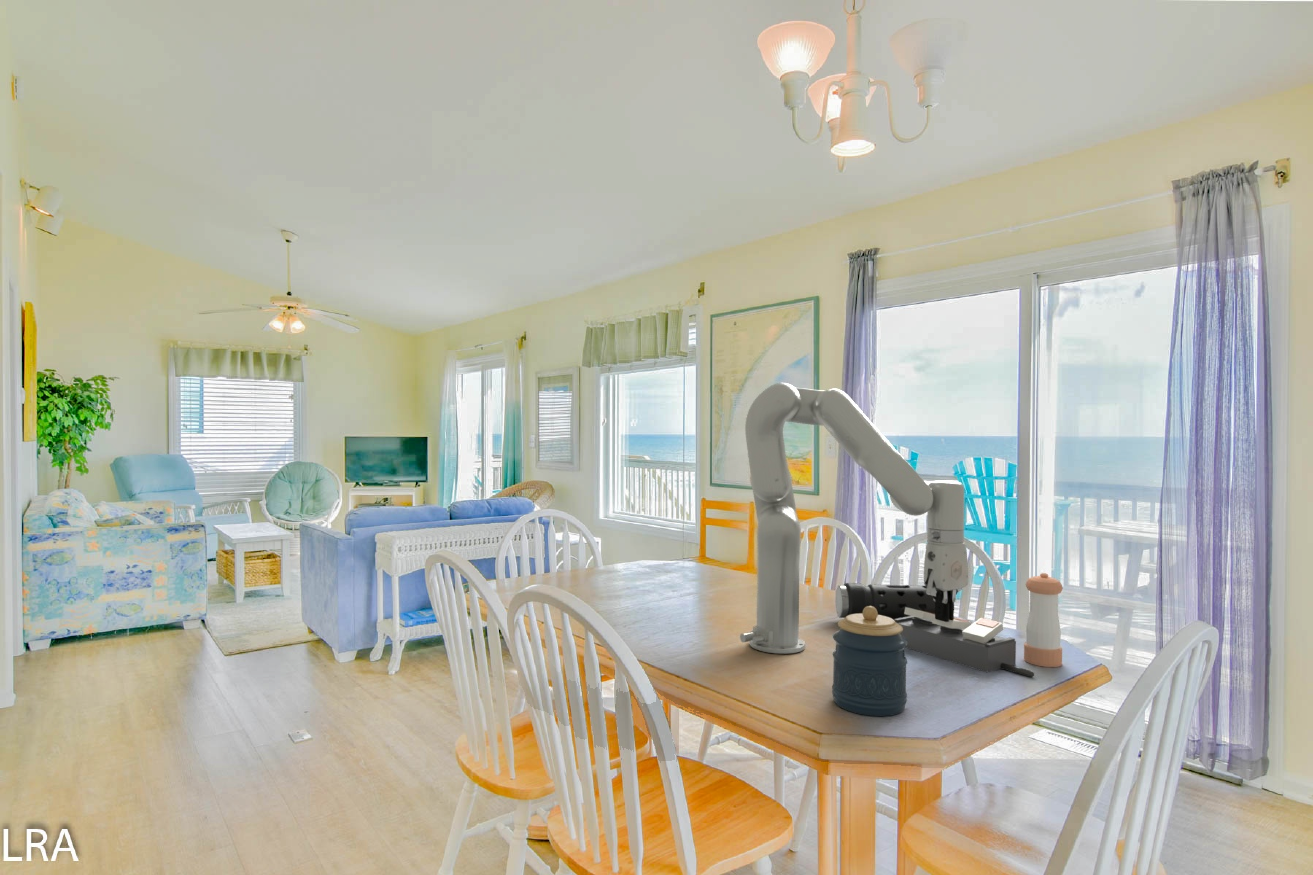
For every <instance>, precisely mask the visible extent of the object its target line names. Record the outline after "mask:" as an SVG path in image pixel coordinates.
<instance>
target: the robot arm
mask: <svg viewBox="0 0 1313 875" xmlns="http://www.w3.org/2000/svg"><path fill="white" fill-rule="evenodd" d="M786 422H787V423H794V424H795V423H796V424H803V425H811V426H821V427H824V428H825V429H826V430H827V432H829V434H830V435H831V437H832V438H834V440H836V442H837V443H838V444H839V445H840V446H841V448H842V449H843V450H844V451H845V452H846V454H848V456H849V457H850V458H851V459H852V460H853V462H855V464H857V465H858V466H859V467H861V468H862V469H863V470H864V471H866V472H867V473H868V474H869V475H871V477H873V479H874V480H875V481H876V482H877V483H879V485H880V486H881V487H882V488H883V490H885V491H886V493H888V495H889V499H890V502H891V503H892V505H893V506H894V507H895V508H896V509H898V510H899V511H901V512H904V513H905V514H907V515H909V516H915V517H917V516H921V515H924V514H926V513H927V520H926V521H927V526H926V527H927V530H926V533H927V534H926V535H927V536H926V542H927V543H926V548H925V554H924V564H923V584H924V585H923V586H926V587H927V591H926V594H928V595H931V596H933V600H934V601H935V619H937V620H940V621H944V622H948V621H949V620H954V615H955V602H956V601H957V595H958V593H960V592H961V591H962V590H963V589H964V588H966V587H967V586H968V585H969V563H968V562H969V560H968V553H967V547H966V542H965V541H964V540H965V486H964V484H963V483H962V482H959V481H956V480H932V481H931V480H930V481H928V480H924V478H922V477H921V476H920V474H919V473H918V472H917V471H916V470H915V469H914V467H913V466H912V465H911V464H910V463H909V462H908V461H907V460H906V459H905V457H904V456H902V454H901V453H900V452H899V451H898V450H897V449H896V448H895V447H894V446H893V444H892V443H891V442H890V441H889V440H888V439H887V438H886V437H885V435H883V433H882V432H881V431H880V430H879V429H878V428H877V427H876V426H875V424H873V422H872V421H871V420H870V419H869V417H868V416H866V414H865V413H864V412H863V411H862V410H861V408H860V407H859V406H858V405H857V404H856V403H855V402H854V401H853V399H852V398H851V397H850V396H849V395H848V394H847V393H846V392H845V391H843V390H841V389H839V388H828V389H826V390H823V389H820V390H819V389H810V388H802V387H795V386H793V384H790V383H787V382H776V383H774V384H771V385H770V386H768V387H767V388H765V389H764V390H763V391H762V392H761V393H760V394H758V395H757V396H756V398H755V399H754V400H753V402H752V403H751V405H750V407H749V409H748V411H747V414H746V418H745V424H744V425H745V428H744V429H745V430H744V431H745V433H744V434H745V442H746V449H747V457H748V458H747V459H748V464H749V470H750V486H751V488H752V494H753V499H754V500H753V501H754V506H755V511H756V517H757V531H756V532H757V536H756V538H757V539H756V541H757V542H756V544H757V548H756V549H757V550H756V551H757V552H756V553H757V555H756V556H757V560H756V564H757V566H756V567H757V568H756V569H757V570H756V572H757V573H756V577H757V578H756V580H757V581H756V584H757V586H756V625H754V626H752V630H751V631H750V632H744V633H740V636H739V639H740V641H741V642H742V643H747V642H749V646H750V647H751V648H752V649H754V650H757V651H760V652H763V653H770V654H781V655H783V654H785V655H786V654H787V655H788V654H797V653H799V652H803V651H804V650H805V649H806V642H805V640H803V639H802V638H800V637H799V629H800V628H799V627H800V625H799V624H800V623H799V622H800V620H799V619H800V616H799V615H800V561H801V560H800V558H801V557H800V556H801V542H802V541H801V540H802V539H801V538H802V532H801V524H800V521H799V518H798V514H797V507H796V502H795V497H794V496H795V495H794V488H793V482H792V481H793V480H792V474H791V472H790V469H789V465H788V461H787V460H788V459H787V453H786V447H785V439H784V432H783V431H784V425H785V423H786ZM941 592H942V594H941ZM953 602H954V603H953Z"/></svg>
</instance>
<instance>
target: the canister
mask: <svg viewBox="0 0 1313 875" xmlns="http://www.w3.org/2000/svg"><path fill="white" fill-rule="evenodd" d="M837 626H838V628H839V630H836V631H835V632H834V633H833V635H832V639H833V640H834V641H835V649H834V651H833V652H832V657H833V668H832V669H833V671H832V672H833V676H832V677H833V678H832V679H833V680H832V681H833V683H832V686H831V689H832V690H831V693H832V696H833V698H832V700H833V703H835V704H836V705H837V707H839V708H841V709H843V710H845V711H848V712H851V713H855V714H859V715H864V716H873V717H874V716H875V717H887V716H889V717H890V716H895V715H898V714H901V713H902V712H904V711H905V709H906V704H907V701H908V700H907V699H908V694H907V664H908V659H907V657H906V656H905V648H906V646H907V644H908V642H907V640H906V639H905V638H904V637H903V636H901V634H900V633H901V632H902V631H903V628H902V626H901V625H899V624H898V623H896V622H895V621H894V620H893V619H892V618H889V617H886V616H882V615H878V612H877V610H876V608H875V607H873V606H867V607H865V608H864V610H863V613H860V614H851V615H848V616H846V618H841V619H840V620H838V622H837Z"/></svg>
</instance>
